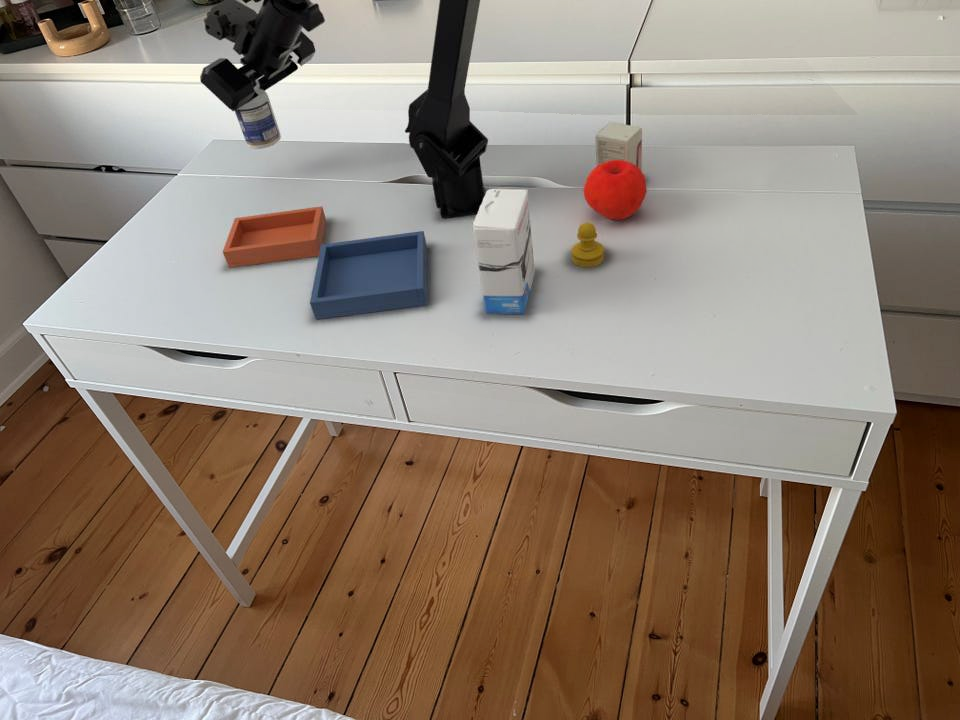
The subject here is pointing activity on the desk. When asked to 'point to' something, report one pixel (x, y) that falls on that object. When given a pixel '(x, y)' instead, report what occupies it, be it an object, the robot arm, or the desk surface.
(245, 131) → the pill bottle
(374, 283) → the blue tray
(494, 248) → the ink box
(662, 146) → the desk surface
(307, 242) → the terracotta tray
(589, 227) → the chess piece
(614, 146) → the small box
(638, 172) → the apple
